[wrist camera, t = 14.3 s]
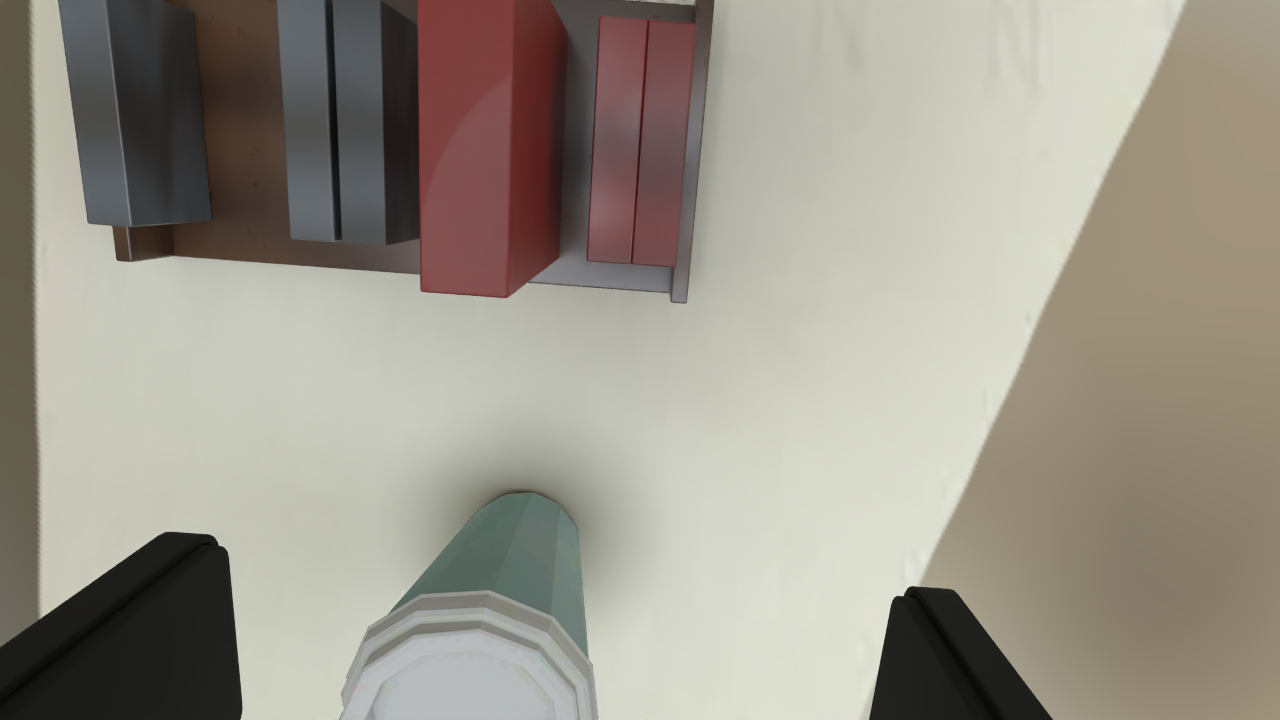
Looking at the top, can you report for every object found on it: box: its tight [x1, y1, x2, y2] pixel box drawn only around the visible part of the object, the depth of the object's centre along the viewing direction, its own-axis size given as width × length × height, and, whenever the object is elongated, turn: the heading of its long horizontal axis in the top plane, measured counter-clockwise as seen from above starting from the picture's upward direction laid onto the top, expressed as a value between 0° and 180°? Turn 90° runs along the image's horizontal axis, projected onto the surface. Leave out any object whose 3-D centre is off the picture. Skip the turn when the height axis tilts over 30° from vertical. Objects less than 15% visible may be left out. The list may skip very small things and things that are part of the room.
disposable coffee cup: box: [339, 492, 598, 720], centre depth 33 cm, size 11×11×15 cm
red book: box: [417, 0, 568, 298], centre depth 27 cm, size 11×3×13 cm, turn 176°
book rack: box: [58, 0, 714, 304], centre depth 31 cm, size 14×28×7 cm, turn 86°
